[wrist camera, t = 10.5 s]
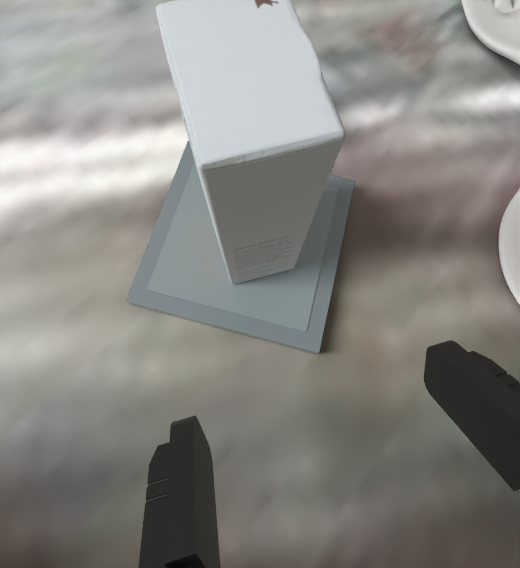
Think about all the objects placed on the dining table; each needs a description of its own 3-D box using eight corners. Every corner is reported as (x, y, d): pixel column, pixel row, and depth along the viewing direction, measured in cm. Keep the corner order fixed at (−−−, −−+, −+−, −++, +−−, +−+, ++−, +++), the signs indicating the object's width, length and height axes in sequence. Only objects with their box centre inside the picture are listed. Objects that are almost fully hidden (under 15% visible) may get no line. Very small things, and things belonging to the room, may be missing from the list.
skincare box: (207, 203, 21) (150, -3, 9) (269, 188, 21) (287, -27, 10) (230, 289, 19) (194, 168, 8) (296, 271, 20) (355, 131, 8)
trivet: (133, 305, 20) (125, 301, 19) (191, 152, 23) (187, 139, 22) (315, 354, 20) (319, 353, 18) (350, 190, 23) (355, 179, 22)
